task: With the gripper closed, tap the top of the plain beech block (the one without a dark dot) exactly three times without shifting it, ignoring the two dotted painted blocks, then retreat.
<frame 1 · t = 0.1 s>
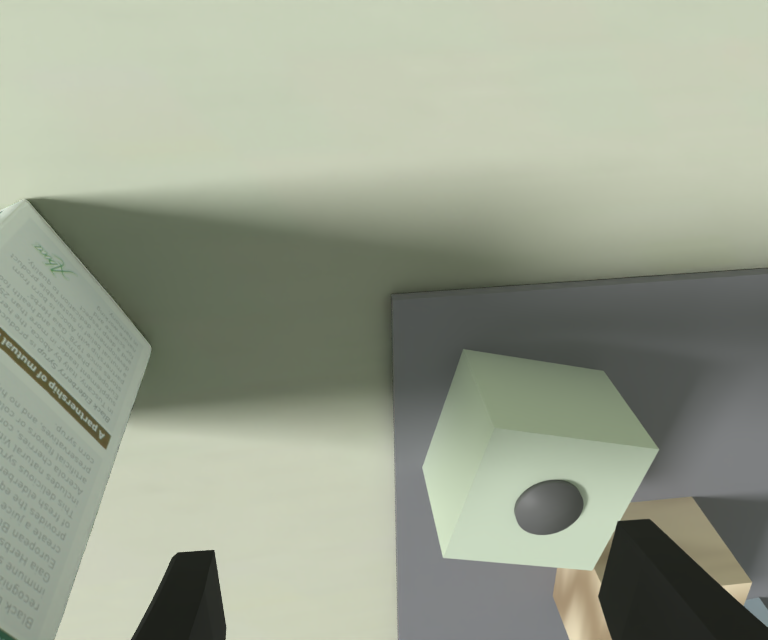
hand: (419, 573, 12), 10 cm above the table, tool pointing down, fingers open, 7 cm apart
beech block: (619, 548, 27), resting on rubber mat
syrup box: (22, 316, 20), on the table
rubber mat: (615, 540, 27), on the table
sage dotted block: (510, 420, 23), resting on rubber mat
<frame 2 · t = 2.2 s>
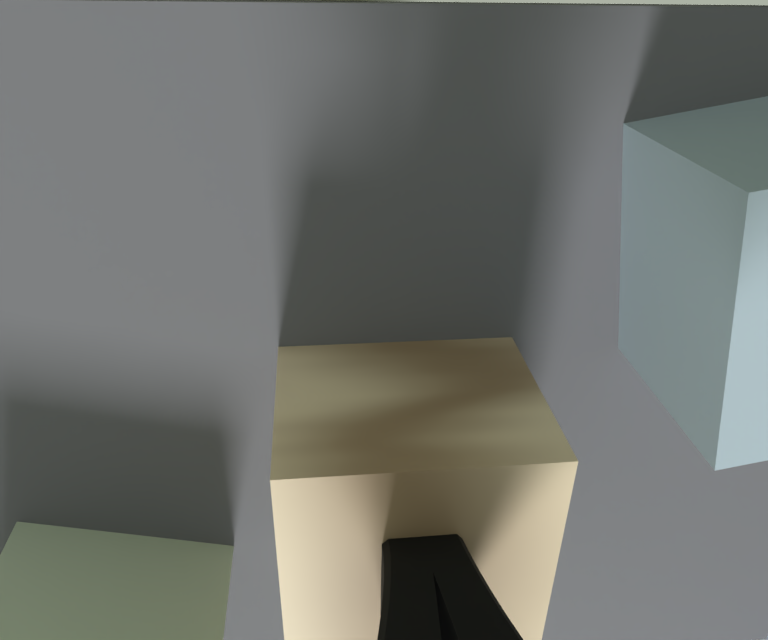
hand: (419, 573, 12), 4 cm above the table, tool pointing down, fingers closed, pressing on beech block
beech block: (394, 434, 15), resting on rubber mat, touching gripper
rubber mat: (392, 423, 16), on the table
sage dotted block: (119, 603, 17), resting on rubber mat
slate dotted block: (739, 223, 14), resting on rubber mat
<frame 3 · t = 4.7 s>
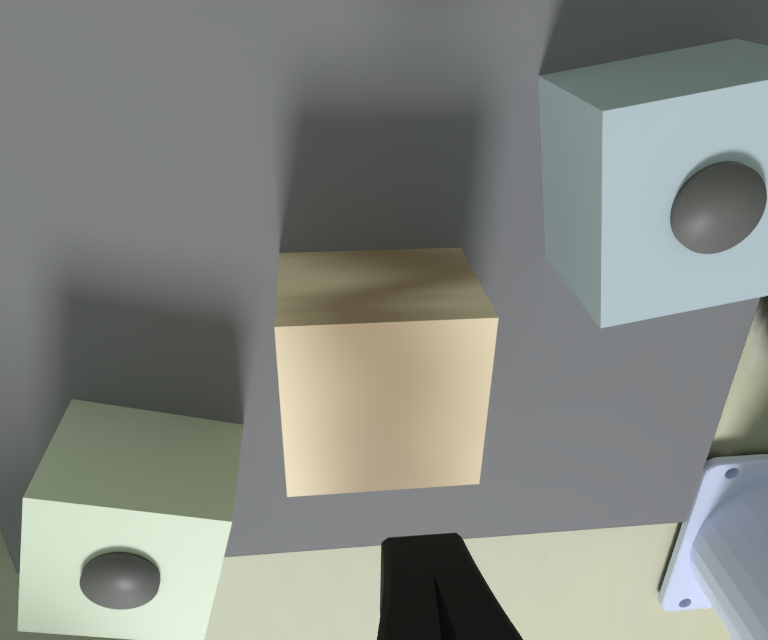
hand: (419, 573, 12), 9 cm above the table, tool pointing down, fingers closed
beech block: (370, 329, 19), resting on rubber mat
rubber mat: (369, 322, 20), on the table
sage dotted block: (150, 474, 21), resting on rubber mat
slate dotted block: (634, 155, 18), resting on rubber mat
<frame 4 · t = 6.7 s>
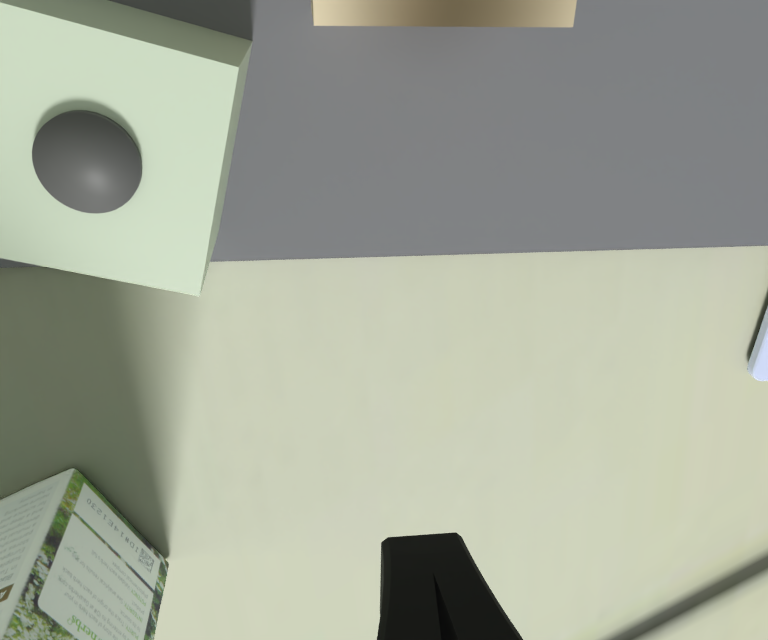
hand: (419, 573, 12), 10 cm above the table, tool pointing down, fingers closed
syrup box: (64, 538, 24), on the table
sage dotted block: (134, 116, 17), resting on rubber mat
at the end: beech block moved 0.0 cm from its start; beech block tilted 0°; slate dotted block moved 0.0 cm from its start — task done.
